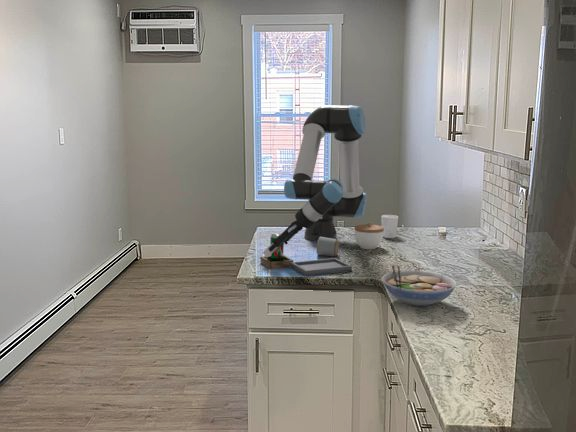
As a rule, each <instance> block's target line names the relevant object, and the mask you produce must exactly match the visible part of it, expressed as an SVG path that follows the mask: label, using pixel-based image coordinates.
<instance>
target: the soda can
mask: <svg viewBox="0 0 576 432" xmlns="http://www.w3.org/2000/svg"><path fill="white" fill-rule="evenodd" d="M281 234H282V233H278V232H277V233H275V232H274V233H271V235H270V238H269V239H270V240H269V241H270V242H269V243H270V244H269V246H270V245H271V244H272V240H275V239H276V238H278V237H279V236H280V235H281ZM284 246H285V243H284V242H283V243H282V244H281V245H280V246H279V247H278V248H277V249H276V250H275V251H274V252H273V253H272V254H271V255H270V262H275V261H283V255H284Z"/></svg>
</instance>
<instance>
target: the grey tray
mask: <svg viewBox="0 0 576 432" xmlns="http://www.w3.org/2000/svg"><path fill="white" fill-rule="evenodd" d="M290 268H291V269H292V270H295V272H297V271H298V272H297V273H299V274H301V275H302V274H303V275H302V276H304V277H311V276H312V277H313V276H320V275H330V274H339V272H341V273H346V271H350V272H352V271H353V270H352V268H353V267H352V265H350V264H349V263H346V262H345V261H343V260H340V259H339V258H336V257H331V258H322V259H312V260H301V261H300V260H299V261H293V262H291V267H290Z"/></svg>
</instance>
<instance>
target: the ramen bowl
mask: <svg viewBox="0 0 576 432" xmlns="http://www.w3.org/2000/svg"><path fill="white" fill-rule="evenodd" d="M400 268H401V266H399V265H397V271H396V269H395V266H394V265H392V266H391V269H392V271H391V272H387V273H385V274H384V275H383V276H381V280H382V283H383V285H384V286H385V287H386V289H387V290H388V292H389V293H390V295H391V296H392V297H394V298H395V299H397V300H399V301H401V302H404V303H405V304H407V305H409V306H413V307H427V306H429V305H433V304H438V303H440V302H442V301H443V300H446V299H447V298H448V297H449V296H450V295H451V294H452V292H453V291H454V290H455V288H456V286H457V283H458V282H457V281H456V280H455V279H454V278H452V277H450V276H447V275H445V274H442V273H441V274H440V273H438V272H432V271H423V270H400Z"/></svg>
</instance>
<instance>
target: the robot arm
mask: <svg viewBox="0 0 576 432" xmlns="http://www.w3.org/2000/svg"><path fill="white" fill-rule="evenodd" d="M365 118H366V116H365V113H364V110H363V108H362V107H361V106H359V105H351V104H350V105H331V104H330V105H322V106H319V107H317V108H316V109H314V110H313V111H312V112H311V113H310V114H309V115H308V117H307V118H306V119H305V122H304V123H303V126H302V128H301V129H302V135H303V136H302V140H301V144H300V148H299V152H298V156H297V160H296V163H295V167H294V172H293V175H292V178H290V179H286V180H285V182H284V185H283V193H284V197H285V198H287V199H290V200H305V201H306V200H307V202H306V203H305V204H304V205H303V206H302V207H301V208H300V209H299V210H298V211H296V213H295V214H294V216H295V217H294V218H295V220H294V221H293V222H291V223H290V225H289V226H287V227H286V229H285V230H284V231H283V232H282V233H280V234H281V235H280V236H279V237H278V238H276V239H275V240H272V244H271V245H270V244H269V246H268V247H266V249H264V251H262V254H263V255H264V256H266V258H268V257H269V256H270V255H271V254H272V253H273V252H274V251H275V250H276V249H277V248H278V247H279V246H280V245H281V244H282V243H283V242H284V245H286V246H287V245H288V244H289V243H288V242H289V241H291V239H292V238H293V237H294V236H296V235H297V234H298V233H299V232H301V231H302V230H303V229H305V230H304V239H307V240H309V241H315V242H318V239H319V237H326V238H332V239H336V240H337V238H338V237H337V236H338V234H337V230H336V227H335V223H334V217H335V218H336V217H338V218H352V219H355V218H356V219H359V218H362V217H363V216H364V214H365V209H366V204H367V195H368V194H367V192H364V188H363V187H362V186H361V185H360V160H359V159H360V155H359V154H360V153H359V141H360V139H361V138H362V136H363V134H365V132H366V119H365ZM326 134H333V135H334V136H333V137H334V139H335V140H336V141H337V144H338V159H339V160H338V162H339V163H338V164H339V165H338V167H339V180H338V179H336V178H330V179H328V180H313V176H314V171H315V168H316V164H317V160H318V155H319V150H320V147H321V141H322V139H323V138H324V137H325V135H326Z"/></svg>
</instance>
